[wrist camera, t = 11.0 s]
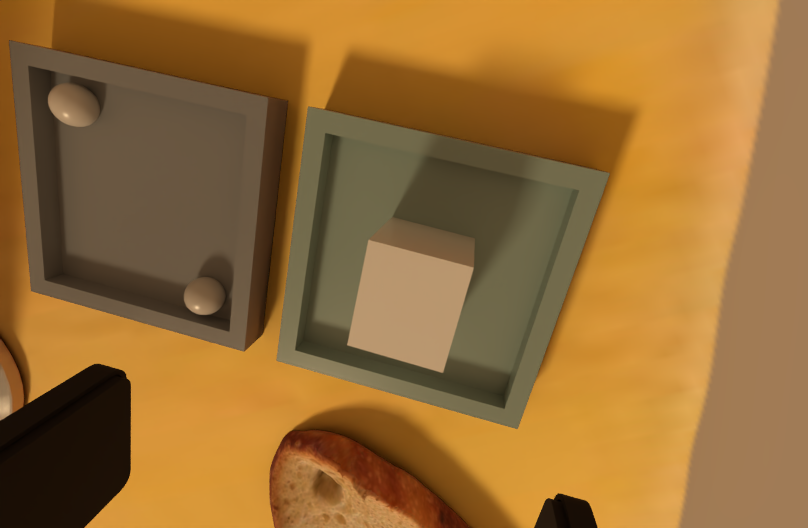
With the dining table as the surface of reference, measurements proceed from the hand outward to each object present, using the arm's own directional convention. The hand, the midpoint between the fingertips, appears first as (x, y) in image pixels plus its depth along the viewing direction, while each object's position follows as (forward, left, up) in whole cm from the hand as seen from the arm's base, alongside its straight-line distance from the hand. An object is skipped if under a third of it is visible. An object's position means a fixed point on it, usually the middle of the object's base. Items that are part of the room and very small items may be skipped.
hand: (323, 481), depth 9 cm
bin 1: (0, +16, -15) cm, 22 cm away
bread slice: (-19, -3, -16) cm, 25 cm away
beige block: (0, 0, -14) cm, 14 cm away
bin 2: (0, 0, -15) cm, 15 cm away
